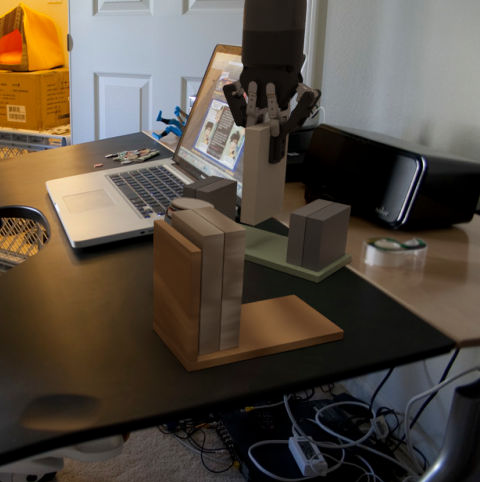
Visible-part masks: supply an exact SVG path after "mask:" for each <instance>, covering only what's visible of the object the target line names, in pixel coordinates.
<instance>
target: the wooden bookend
mask: <svg viewBox="0 0 480 482" xmlns="http://www.w3.org/2000/svg"><path fill="white" fill-rule="evenodd" d="M237 223H238V222H236V221H235V222H234V221H233V220H231V219H230V218H228V217H226V216H225V215H223V214H222V213H220V212H219V211H217V210H216V209H214V208H213V207H211V206H210V207H203V208H196V209H192V210H191V209H189V210H182V211H175V212H172V219H171V226H170V225H169V224H168V223H166V222H165V221H164V218H163V219H162V218H160V219H154V220H153V275H152V276H153V279H152V281H153V283H152V284H153V285H152V287H153V289H152V291H153V292H152V293H153V294H152V296H153V297H152V299H153V300H152V301H153V302H152V303H153V307H152V320H153V321H152V329H153V331H154V332H155V333H156V334H157V336H158V337H159V338H160V339H161V341H162V342H163V343H164V344H165V345H166V347H167V348H168V349H169V350H170V351H171V353H172V354H173V355H174V356H175V358H176V359H177V360H178V361H179V363H180V364H181V365H182V366H183V368H184V369H185V370H186V371H187V372H188V373H189V372H194V371H200V370H204V369H209V368H213V367H218V366H223V365H227V364H232V363H237V362H242V361H246V360H251V359H255V358H260V357H265V356H269V355H273V354H278V353H284V352H287V351H292V350H298V349H302V348H306V347H312V346H316V345H321V344H325V343H330V342H334V341H338V340H343V339H344V333H345V331H344V330H343V329H342V328H341V327H339V326H338V325H337V324H336V323H334V322H332V321H331V320H329V319H328V318H327V317H326V316H324V315H323V314H322V313H320V312H319V311H317V310H316V309H315V308H313V307H312V306H310V305H309V304H308V303H306V302H305V301H304V300H303V299H301V298H299V297H298V296H297V295H295V294H290V295H285V296H279V297H274V298H269V299H264V300H258V301H254V302H247V303H243V304H242V302H243V301H242V300H243V289H244V288H243V287H244V272H245V271H244V270H245V260H244V257H245V241H246V229H245V228H243V227H242V226H240V225H239V224H240V223H238V224H237Z"/></svg>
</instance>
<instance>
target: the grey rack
mask: <svg viewBox="0 0 480 482" xmlns="http://www.w3.org/2000/svg"><path fill="white" fill-rule="evenodd" d="M237 196H238V180H236V179H230V178H227V177H226V178H225V177H222V176H217V175H210V176H208V177H205V178H202V179H199V180H195V181H193V182H191V183H187V184H185V185H183V186H182V198H194V199H199V200H203V201H206V202H209V203H211V204H212V205H213V206H214V209H216V210H217V211H219V212H220V213H222V214H223V215H225V216H226V217H228V218H230V219H231V220H233V221H234V222H236V215H237V214H236V213H237V198H238V197H237ZM351 209H352V205H347V204H343V203H339V202H334V201H330V200H325V199H321V198H318V199H315V200H313V201H312V202H309V203H307V204H305V205H303V206H301V207H299V208H296V209H295V210H293V211H291V212H289V222H288V223H289V224H288V233H287V234H288V235H287V236H285V235H281V234H278V233H274V232H270V231H267V230H263V229H259V228H256V227H254V226H249V225H247V224H246V225H245V224H241V223H238V222H236V223H237V224H239V225H240V226H242V227H243V228H245V229H246V241H245V257H244V261H248V262H250V263H253V264H257V265H261V266H263V267H265V268H266V267H267V268H269V269H273V270H276V271H279V272H282V273H286V274H288V275H291V276H295V277H297V278H301V279H304V280H307V281H310V282H313V283H317V284H318V283H320V282H322V281H323V280H324V279H326V278H327V277H329V276H331V275H333V274H334V273H335V272H337V271H339V270H340V269H343V268H344V267H345V266H346V265H348V264H349V263H351V262H352V258H353V255H352V254H350V253H347V252H346V249H347V241H348V233H349V225H350V217H351Z"/></svg>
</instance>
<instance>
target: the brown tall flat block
mask: <svg viewBox="0 0 480 482" xmlns="http://www.w3.org/2000/svg"><path fill="white" fill-rule="evenodd" d="M289 134H290V133H288V134H287V137H286V147H285V148H286V150H285V156H284V158H283V159H281V161H280V162H279V163H276V164H270V163H269V162H268V158H269V142H270V136H272V135H271V123H270V120H267V121H265V122H263V123H260V124H257V125H254V126H250V127H247V128H244V140H243V141H244V143H243V165H242V180H241V201H240V202H241V203H240V220H239V221H240V223H243V224H246V225H251V226H256V225H258V224H261V223H263V222H265V221H266V220H268V219H270V218H273V217H275V216H277V215H279V214H282V213H283V212H284V211H283V210H284V199H285V185H286V172H287V157H288V145H289Z"/></svg>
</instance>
